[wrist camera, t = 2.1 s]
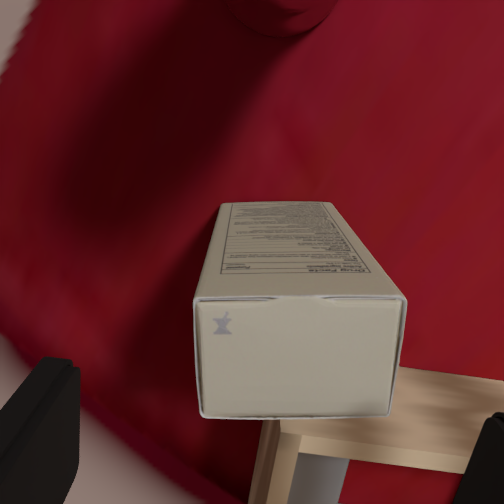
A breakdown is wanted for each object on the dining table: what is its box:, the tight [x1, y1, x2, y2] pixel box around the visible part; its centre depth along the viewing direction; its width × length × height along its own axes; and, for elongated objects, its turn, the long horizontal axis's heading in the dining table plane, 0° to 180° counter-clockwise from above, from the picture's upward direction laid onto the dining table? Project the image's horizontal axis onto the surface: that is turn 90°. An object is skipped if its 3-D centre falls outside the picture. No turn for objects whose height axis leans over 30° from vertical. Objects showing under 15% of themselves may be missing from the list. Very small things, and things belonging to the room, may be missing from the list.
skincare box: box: [193, 202, 407, 420], centre depth 19 cm, size 6×4×12 cm
